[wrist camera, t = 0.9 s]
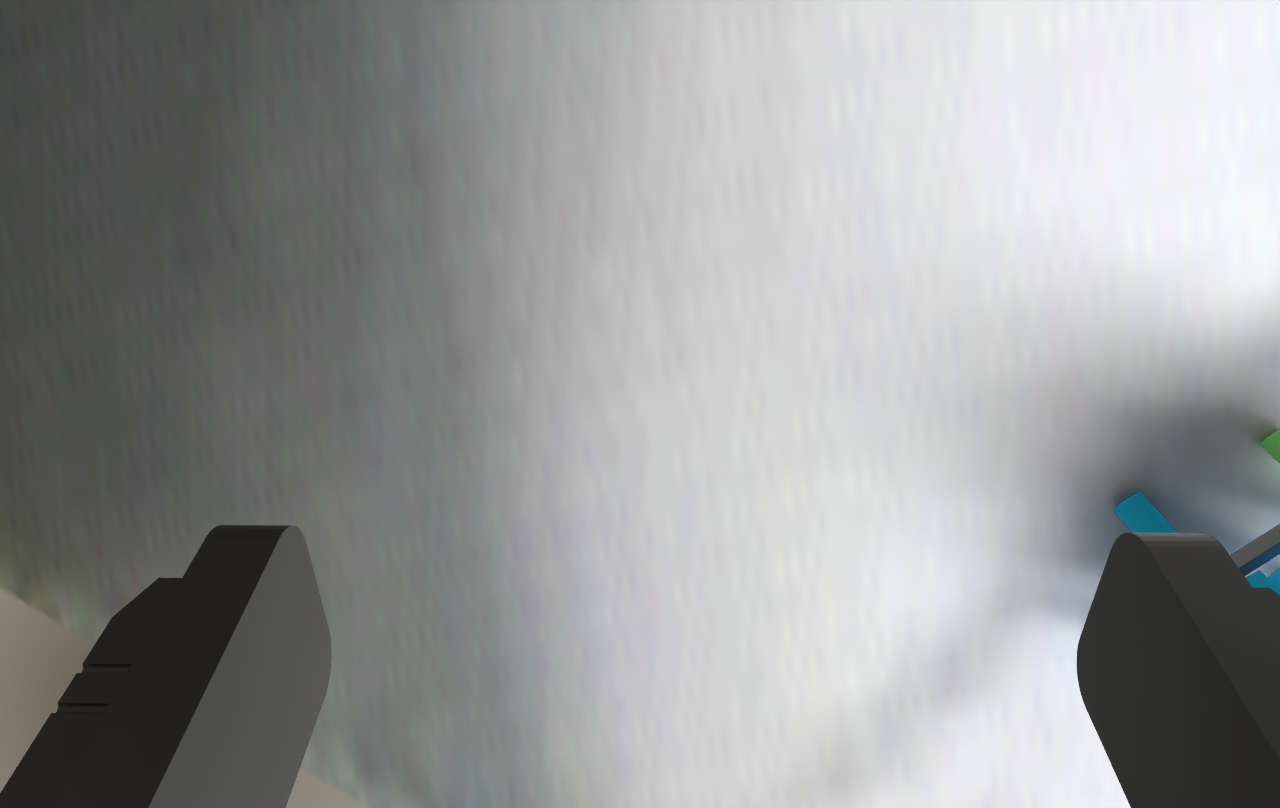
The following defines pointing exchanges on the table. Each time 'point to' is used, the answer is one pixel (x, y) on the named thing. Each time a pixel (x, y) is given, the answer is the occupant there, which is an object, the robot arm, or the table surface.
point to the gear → (1253, 555)
